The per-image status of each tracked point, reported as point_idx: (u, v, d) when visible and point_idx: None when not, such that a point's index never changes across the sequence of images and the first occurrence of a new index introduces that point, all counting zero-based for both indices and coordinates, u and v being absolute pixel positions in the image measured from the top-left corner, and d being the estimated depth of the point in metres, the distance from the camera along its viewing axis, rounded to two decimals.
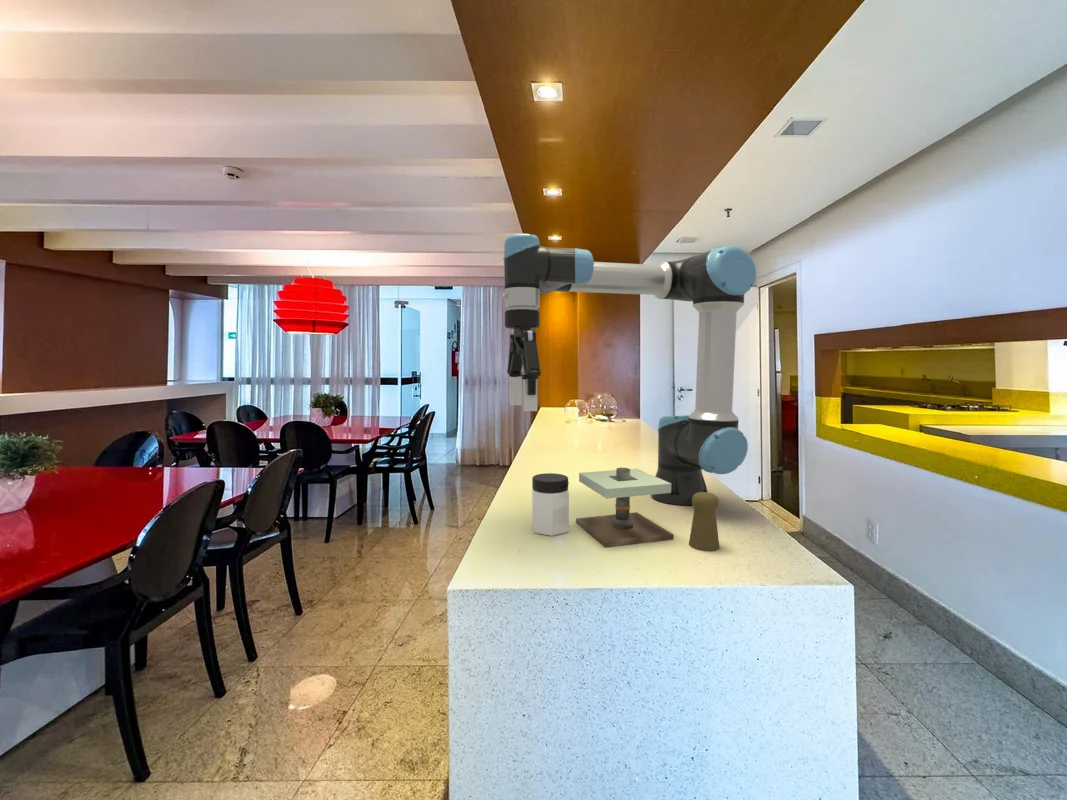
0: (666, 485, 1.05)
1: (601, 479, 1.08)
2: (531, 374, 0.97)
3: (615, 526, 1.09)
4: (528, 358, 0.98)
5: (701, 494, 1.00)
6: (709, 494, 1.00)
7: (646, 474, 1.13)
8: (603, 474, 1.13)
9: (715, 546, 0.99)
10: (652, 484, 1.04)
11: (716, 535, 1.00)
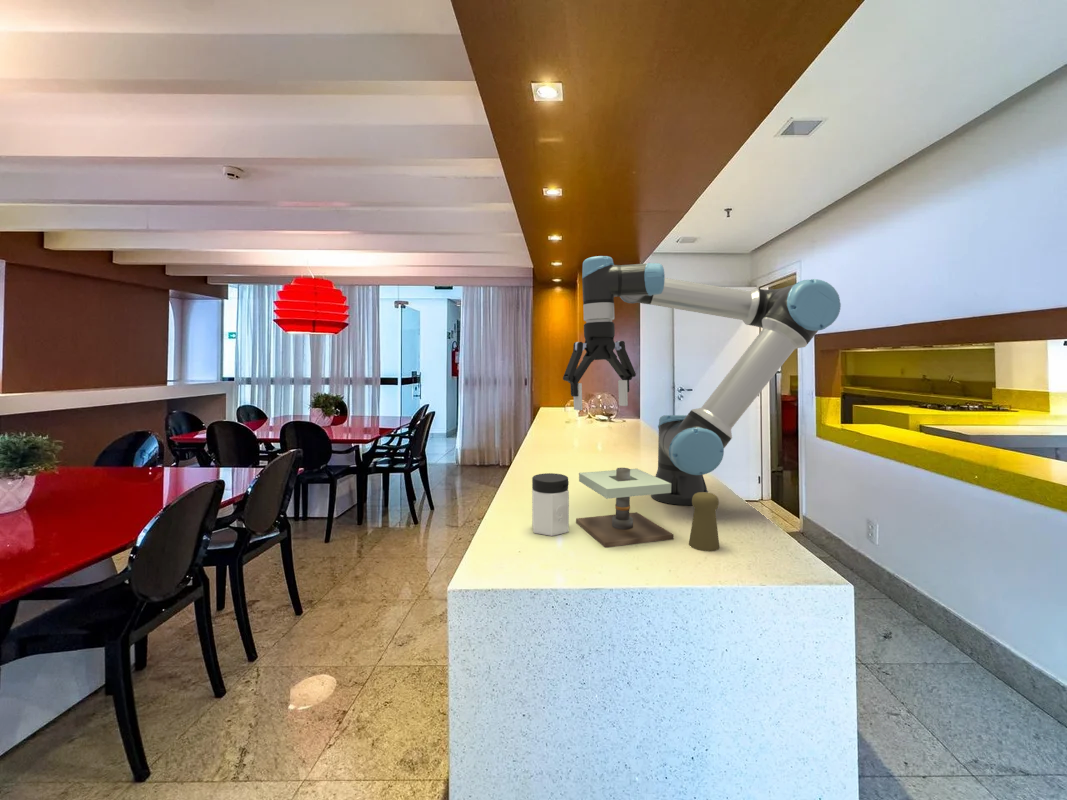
0: (666, 485, 1.05)
1: (601, 479, 1.08)
2: (564, 379, 1.18)
3: (615, 526, 1.09)
4: (568, 365, 1.19)
5: (701, 494, 1.00)
6: (709, 494, 1.00)
7: (646, 474, 1.13)
8: (603, 474, 1.13)
9: (715, 546, 0.99)
10: (652, 484, 1.04)
11: (716, 535, 1.00)
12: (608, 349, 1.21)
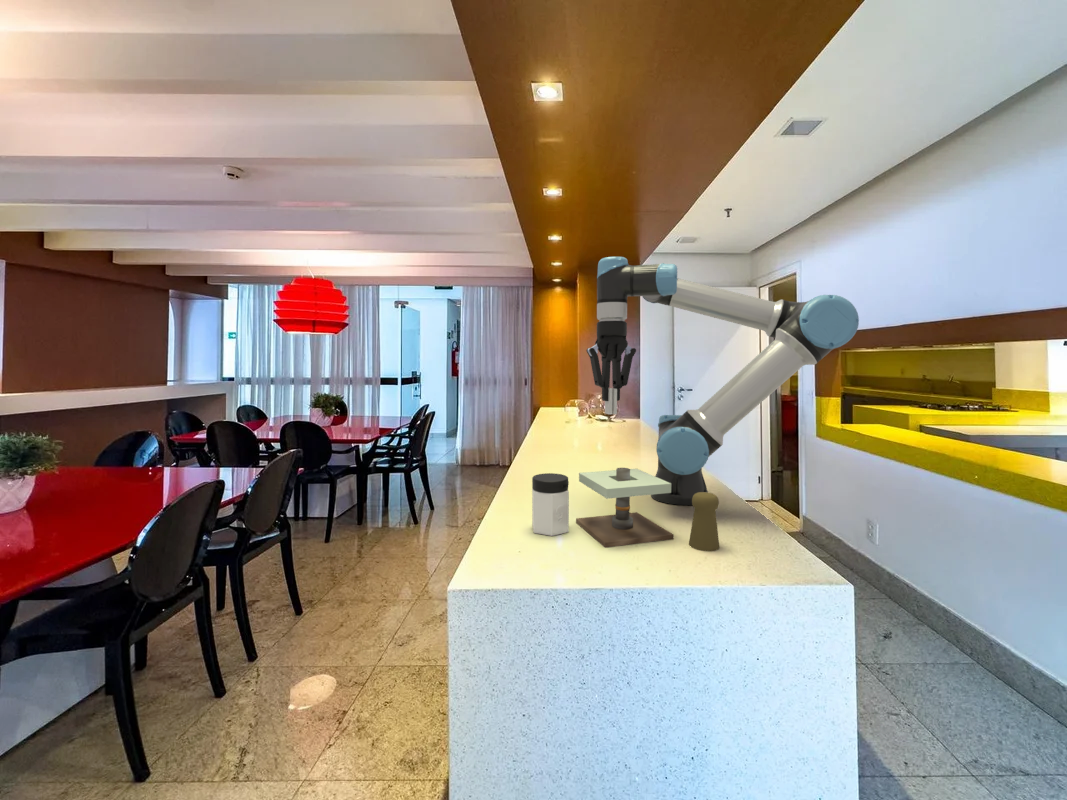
0: (666, 485, 1.05)
1: (601, 479, 1.08)
2: (596, 385, 1.25)
3: (615, 526, 1.09)
4: (593, 372, 1.25)
5: (701, 494, 1.00)
6: (709, 494, 1.00)
7: (646, 474, 1.13)
8: (603, 474, 1.13)
9: (715, 546, 0.99)
10: (652, 484, 1.04)
11: (716, 535, 1.00)
12: (618, 347, 1.23)
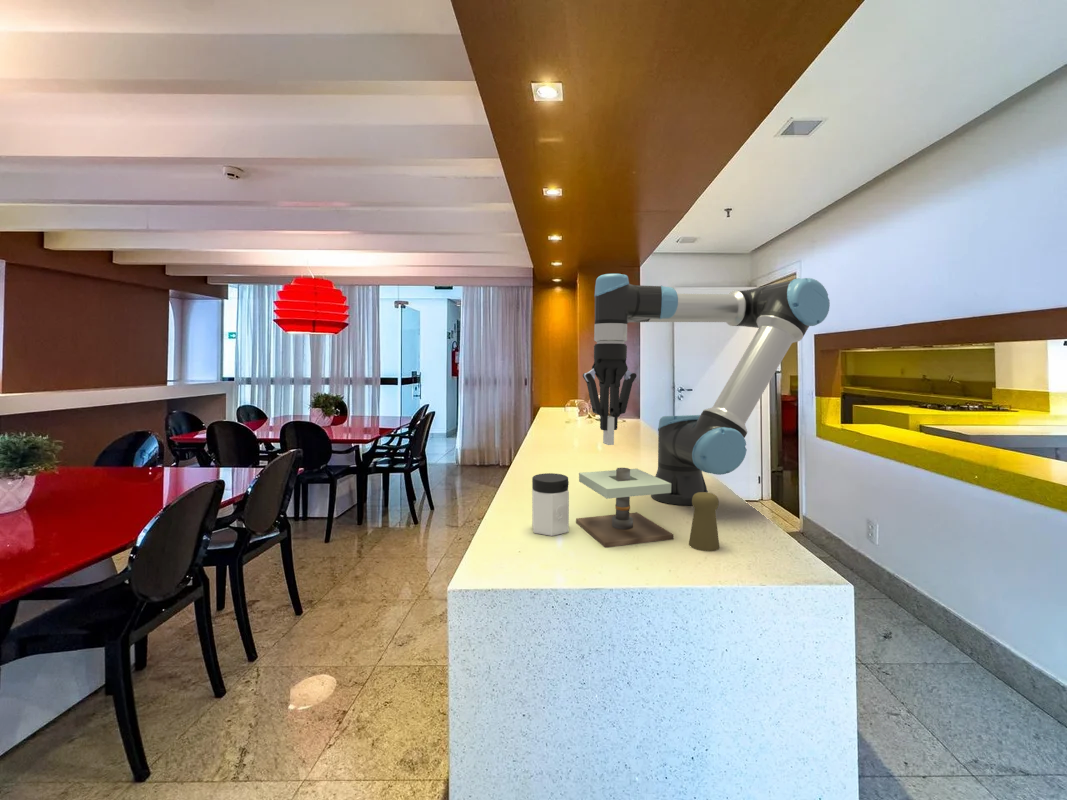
0: (666, 485, 1.05)
1: (601, 479, 1.08)
2: None
3: (615, 526, 1.09)
4: (590, 399, 1.15)
5: (701, 494, 1.00)
6: (709, 494, 1.00)
7: (646, 474, 1.13)
8: (603, 474, 1.13)
9: (715, 546, 0.99)
10: (652, 484, 1.04)
11: (716, 535, 1.00)
12: (617, 372, 1.13)
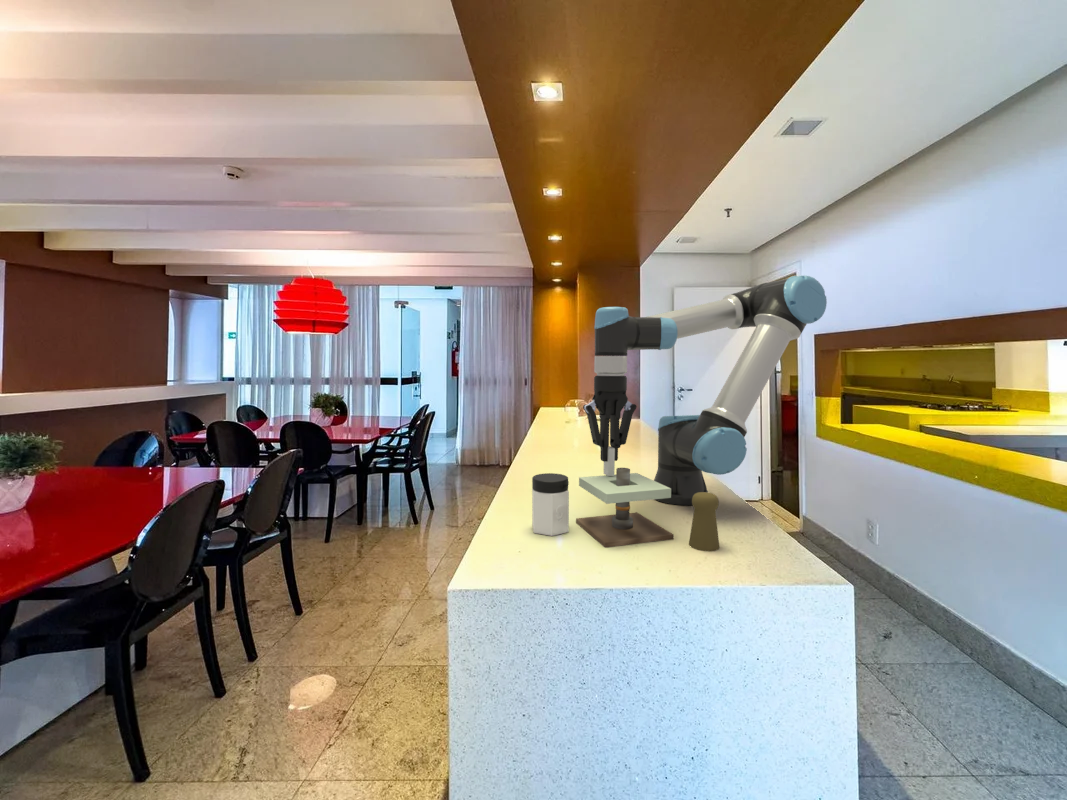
0: (666, 490, 1.05)
1: (601, 484, 1.08)
2: (595, 444, 1.16)
3: (615, 526, 1.09)
4: (590, 430, 1.15)
5: (701, 494, 1.00)
6: (709, 494, 1.00)
7: (646, 479, 1.13)
8: (603, 479, 1.13)
9: (715, 546, 0.99)
10: (652, 489, 1.04)
11: (716, 535, 1.00)
12: (617, 404, 1.14)
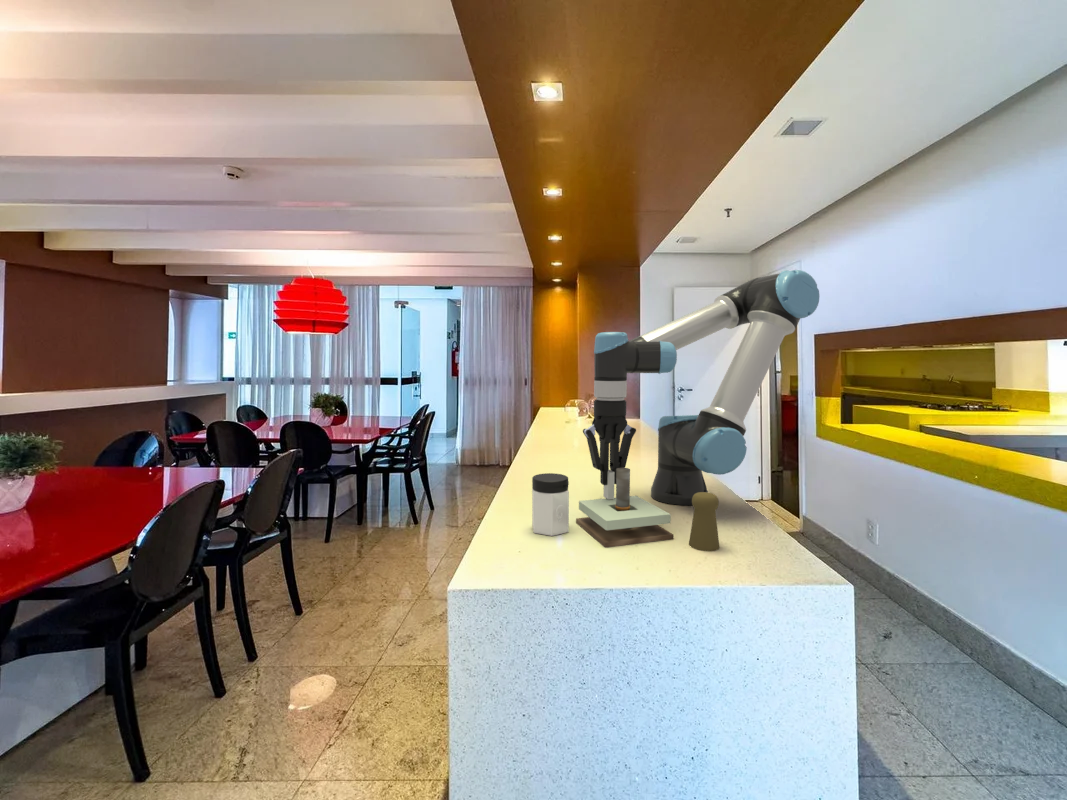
0: (666, 515, 1.05)
1: (601, 509, 1.09)
2: (595, 467, 1.16)
3: None
4: (590, 454, 1.16)
5: (701, 494, 1.00)
6: (709, 494, 1.00)
7: (645, 502, 1.14)
8: (603, 502, 1.14)
9: (715, 546, 0.99)
10: (651, 515, 1.05)
11: (716, 535, 1.00)
12: (617, 428, 1.14)
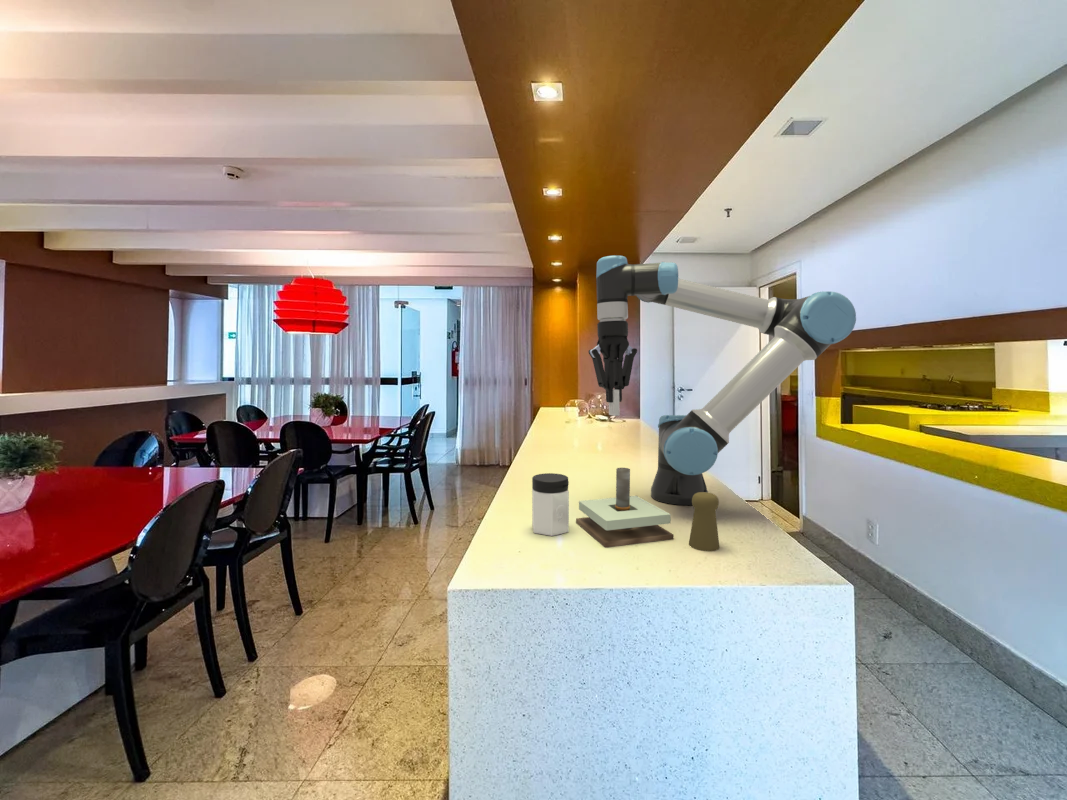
0: (666, 515, 1.05)
1: (601, 509, 1.09)
2: (600, 386, 1.23)
3: None
4: (596, 373, 1.23)
5: (701, 494, 1.00)
6: (709, 494, 1.00)
7: (645, 502, 1.14)
8: (603, 502, 1.14)
9: (715, 546, 0.99)
10: (651, 515, 1.05)
11: (716, 535, 1.00)
12: (620, 347, 1.22)
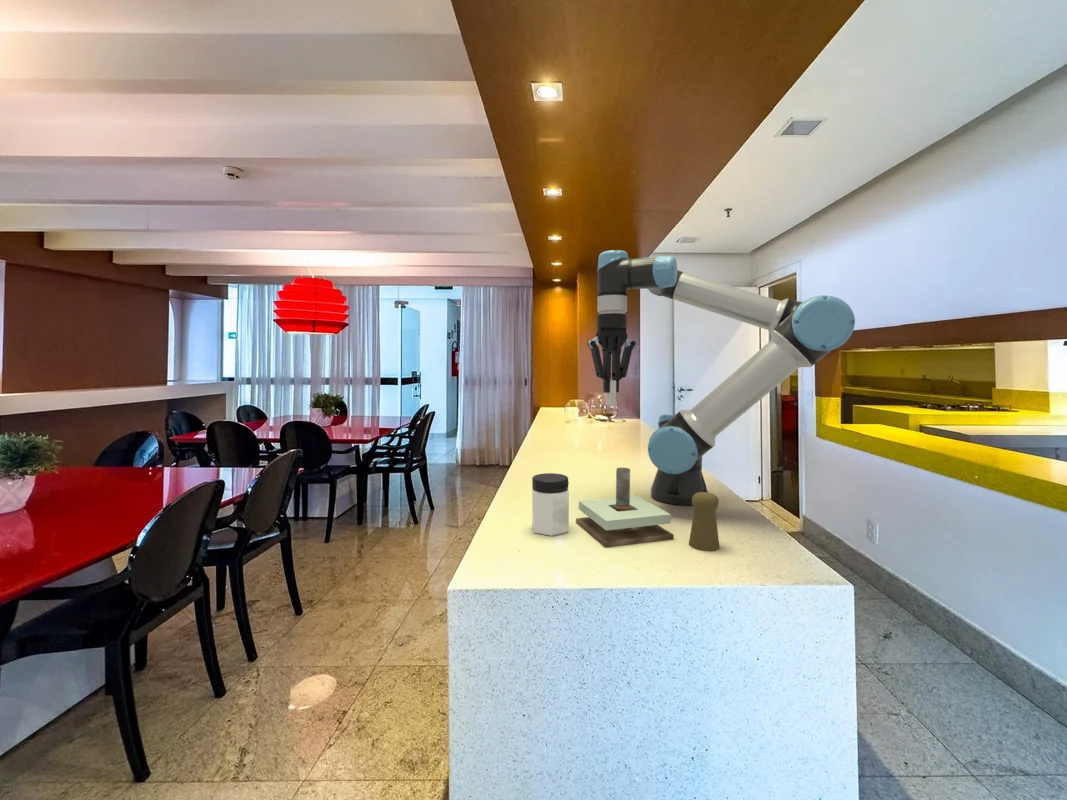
0: (666, 515, 1.05)
1: (601, 509, 1.09)
2: None
3: None
4: (594, 364, 1.27)
5: (701, 494, 1.00)
6: (709, 494, 1.00)
7: (645, 502, 1.14)
8: (603, 502, 1.14)
9: (715, 546, 0.99)
10: (651, 515, 1.05)
11: (716, 535, 1.00)
12: (618, 339, 1.25)
